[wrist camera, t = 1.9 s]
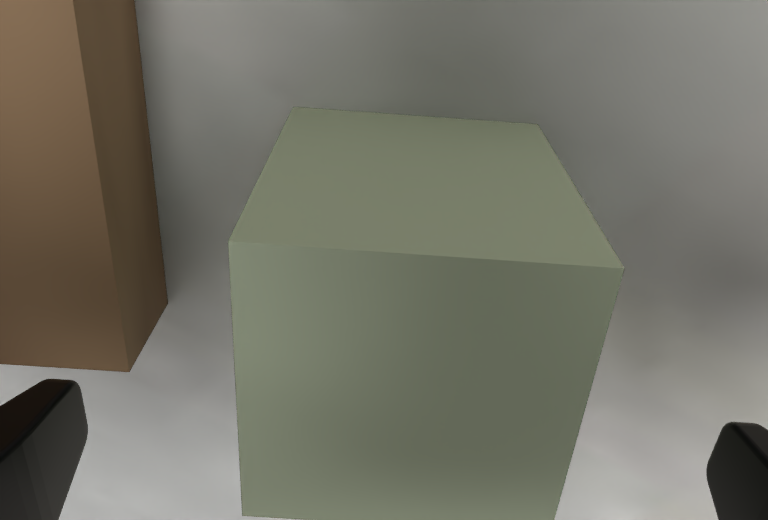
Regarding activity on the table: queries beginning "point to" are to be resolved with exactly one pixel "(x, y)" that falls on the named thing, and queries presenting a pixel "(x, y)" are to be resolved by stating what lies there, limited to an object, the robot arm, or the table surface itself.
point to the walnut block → (75, 188)
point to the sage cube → (413, 320)
